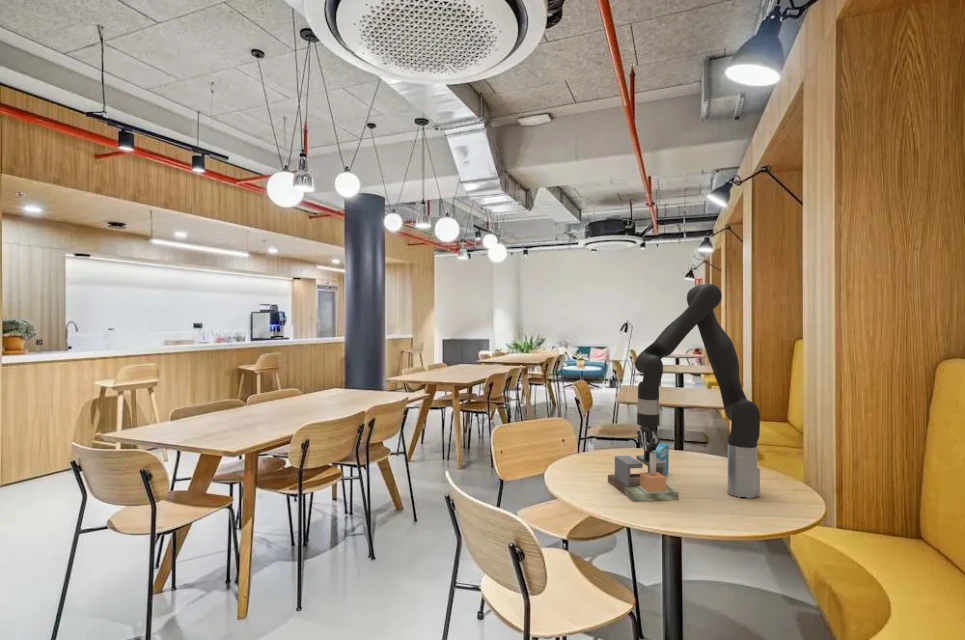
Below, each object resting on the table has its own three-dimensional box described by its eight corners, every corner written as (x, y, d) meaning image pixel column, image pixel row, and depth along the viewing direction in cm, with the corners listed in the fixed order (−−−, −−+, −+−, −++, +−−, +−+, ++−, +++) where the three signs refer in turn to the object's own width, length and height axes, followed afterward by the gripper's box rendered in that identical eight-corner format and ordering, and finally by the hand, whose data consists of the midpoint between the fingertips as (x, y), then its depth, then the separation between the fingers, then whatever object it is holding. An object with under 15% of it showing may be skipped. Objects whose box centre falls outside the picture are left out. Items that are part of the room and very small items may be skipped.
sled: (659, 486, 174) (659, 450, 174) (668, 492, 168) (668, 454, 168) (637, 487, 173) (637, 450, 173) (645, 493, 167) (645, 455, 167)
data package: (660, 481, 189) (660, 450, 189) (648, 479, 191) (648, 448, 191) (668, 474, 199) (668, 443, 199) (656, 472, 201) (657, 442, 201)
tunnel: (650, 476, 187) (650, 454, 187) (665, 485, 176) (665, 462, 176) (614, 477, 185) (614, 456, 185) (627, 487, 174) (627, 464, 174)
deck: (647, 479, 191) (647, 473, 191) (678, 499, 169) (678, 492, 169) (607, 481, 189) (607, 474, 189) (633, 501, 167) (633, 494, 167)
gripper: (668, 415, 168) (667, 466, 169) (649, 407, 182) (649, 455, 182) (646, 415, 167) (646, 467, 168) (629, 408, 180) (629, 456, 181)
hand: (647, 461), depth 175 cm, fingers closed
